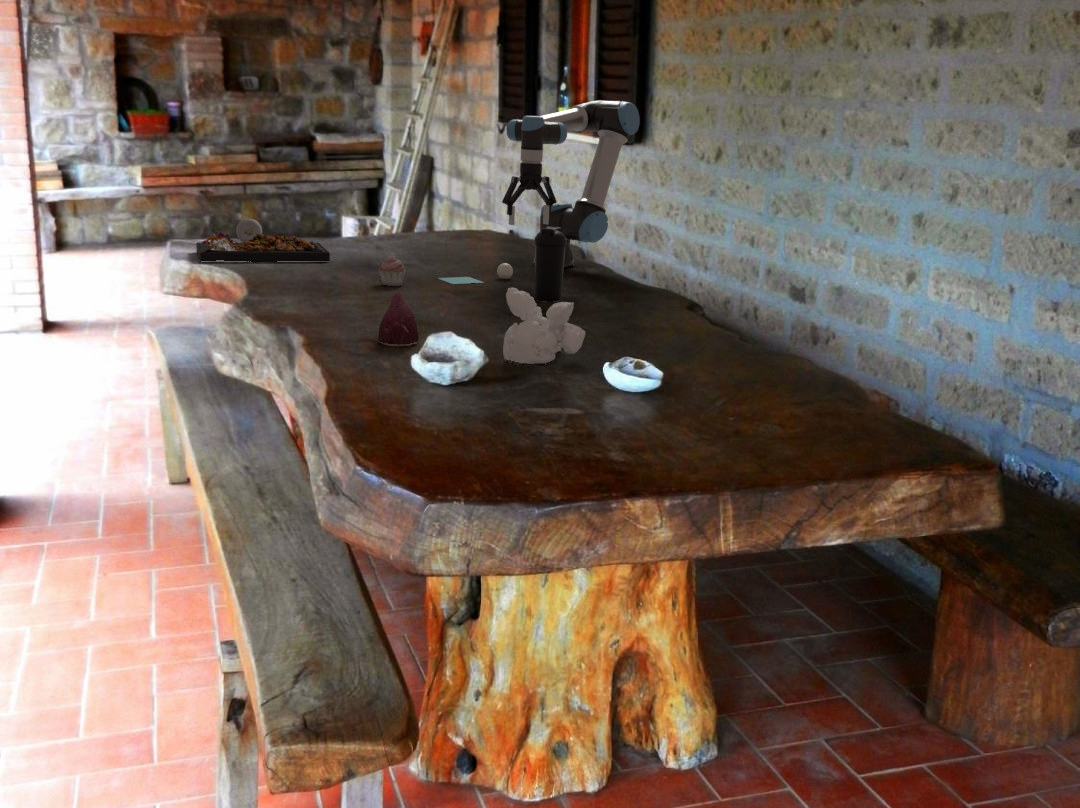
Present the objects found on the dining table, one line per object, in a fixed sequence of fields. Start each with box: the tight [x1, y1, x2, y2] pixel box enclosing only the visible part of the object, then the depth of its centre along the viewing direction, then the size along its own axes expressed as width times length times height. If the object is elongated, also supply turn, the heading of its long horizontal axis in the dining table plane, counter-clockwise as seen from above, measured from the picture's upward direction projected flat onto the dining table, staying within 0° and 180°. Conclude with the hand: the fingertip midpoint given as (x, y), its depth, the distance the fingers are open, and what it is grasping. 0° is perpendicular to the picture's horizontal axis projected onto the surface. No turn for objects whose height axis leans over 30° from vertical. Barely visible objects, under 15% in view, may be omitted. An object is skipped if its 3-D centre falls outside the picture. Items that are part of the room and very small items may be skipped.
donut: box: [235, 218, 263, 243], centre depth 449 cm, size 10×4×10 cm, turn 104°
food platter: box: [195, 226, 331, 262], centre depth 418 cm, size 45×25×10 cm, turn 109°
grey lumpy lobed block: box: [502, 286, 586, 364], centre depth 283 cm, size 19×20×20 cm
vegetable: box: [377, 289, 420, 345], centre depth 293 cm, size 10×10×15 cm
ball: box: [496, 262, 514, 280], centre depth 398 cm, size 6×6×6 cm
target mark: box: [436, 276, 485, 286], centre depth 390 cm, size 12×12×1 cm
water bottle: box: [533, 227, 567, 302], centre depth 360 cm, size 10×10×23 cm
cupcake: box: [378, 254, 407, 287], centre depth 375 cm, size 9×9×10 cm
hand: (528, 224), depth 398 cm, fingers open, 13 cm apart
